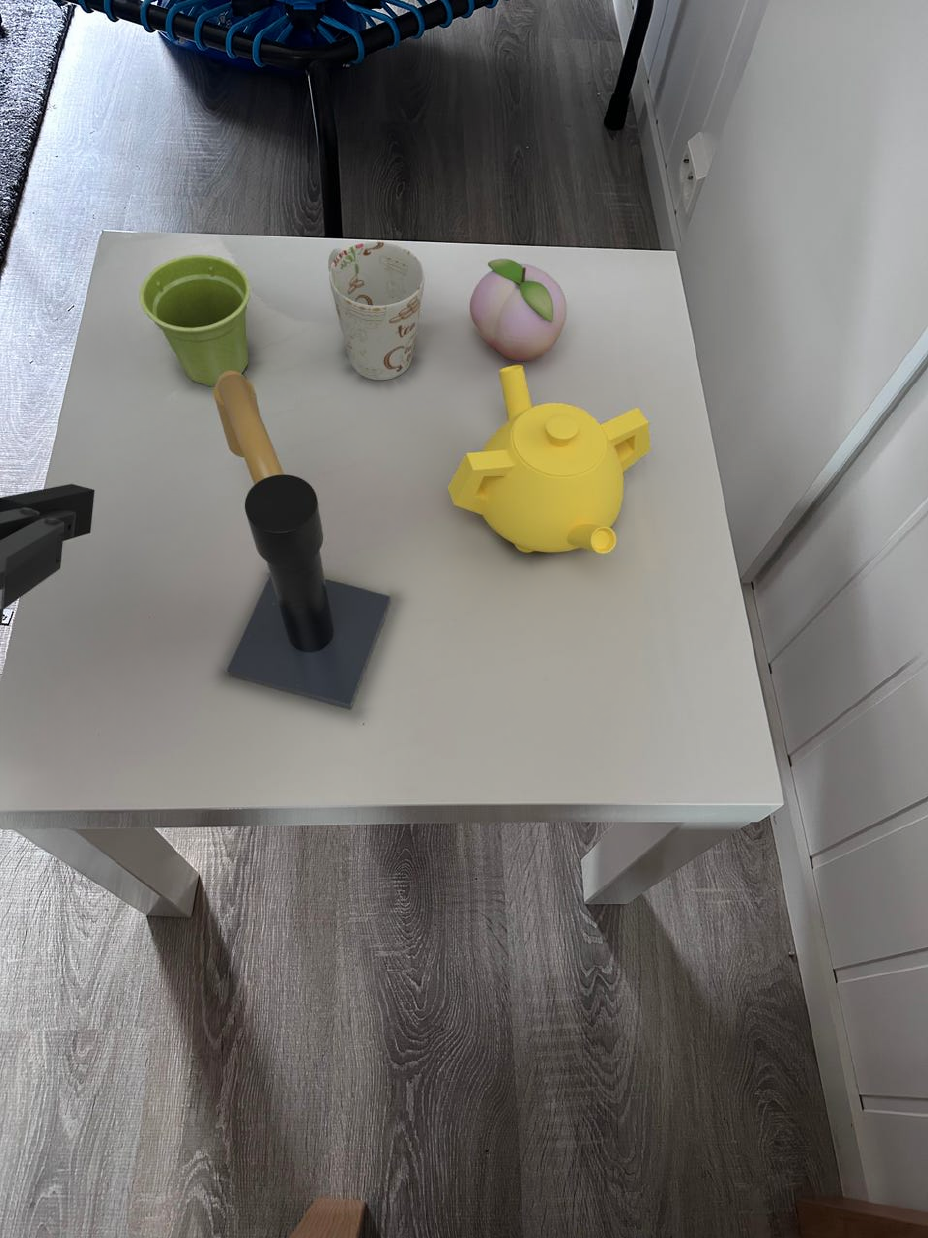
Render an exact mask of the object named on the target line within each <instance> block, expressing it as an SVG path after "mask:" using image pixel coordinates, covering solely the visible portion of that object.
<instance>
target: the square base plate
mask: <svg viewBox="0 0 928 1238" xmlns="http://www.w3.org/2000/svg"><path fill="white" fill-rule="evenodd" d="M266 563H267V567H268V571H269V576H268V579H267V580H266V583H265V585H264V588H263V590H262V592H261V594H260V596H259V598H258V601H257V603H256V605H255V607H254V609H253V611H252V614H251V616H250V618H249V621H248V623H247V625H246V627H245V629H244V631H243V634H242V636H241V638H240V640H239V642H238V645H237V647H236V649H235V652H234V654H233V656H232V658H231V660H230V662H229V665H228V666H227V669H226V672H227V675H228V676H229V677H232V678H235V679H239V680H243V681H247V682H250V683H252V684H253V683H254V684H257V685H260V686H263V687H267V688H271V689H275V690H278V691H282V692H286V693H289V694H293V695H296V696H299V697H303V698H306V699H309V700H313V701H316V702H317V701H318V702H322V703H325V704H329V705H332V706H335V707H340V708H342V709H346V710H349V711H350V710H352V708H353V705H354V702H355V700H356V697H357V694H358V692H359V688H360V686H361V683H362V681H363V678H364V675H365V672H366V670H367V667H368V665H369V662H370V659H371V656H372V654H373V650H374V648H375V645H376V643H377V640H378V637H379V635H380V633H381V629H382V627H383V623H384V621H385V618H386V615H387V613H388V610H389V607H390V605H391V596H390V595H387V594H383V593H379V592H376V591H372V590H369V589H365V588H361V587H357V586H353V585H349V584H346V583H342V582H338V581H334V580H330V579H327V578H326V577H325V572H324V568H323V561H322V555H321V549H320V550H319V552H318V553H317V554H316V556H315V557H314V558H312V559H311V560H310V561H308V562H306V563H304V564H302V565H299V566H295V567H279V566H276V565H273V564H271V563H269V562H267V561H266Z"/></svg>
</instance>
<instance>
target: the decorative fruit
mask: <svg viewBox="0 0 928 1238" xmlns="http://www.w3.org/2000/svg"><path fill="white" fill-rule="evenodd" d="M487 266H488V267H489V268H490V269H491V270H490V271H489V272H487V273H486V274H485V275H484V276H483V277H482V278H481V279H480V280H479V282H478V283H477V284H476V286H475V288H474V290H473V291H472V293H471V297H470V300H469V313H470V316H471V319H472V322H473V324H474V326H475V328H476V330H477V331H478V333H479V335H480V336H481V338H482V339H483V341H485V342H486V343H487V344H488V345H489V346H490V347H491V348H493V349H495V350H496V351H498V352H499V353H500V355H502V356H503V357H505V358H506V359H510V360H513V361H532V360H535V359H538V358H541V357H543V356H544V355H545V354H547V353H548V352H549V351H550V350H551V349H552V348H553V346H554V345H555V343H556V342H557V340H558V339H559V337H560V335H561V333H562V330H563V328H564V326H565V323H566V319H567V315H568V309H567V308H568V307H567V305H568V304H567V300H566V296H565V294H564V291H563V289H562V288H561V286H560V284H559V283H558V282H557V281H556V280H555V279H554V278H553V277H552V276H551V275H550V274H549V273H547V272H546V271H545V270H543V269H541V268H540V267H537V266H535V265H531V264H528V263H519V262H517V261H515V260H513V259H509V258H498V259H492V260H490V261H489V262H487Z"/></svg>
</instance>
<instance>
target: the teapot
mask: <svg viewBox="0 0 928 1238" xmlns="http://www.w3.org/2000/svg"><path fill="white" fill-rule="evenodd" d="M498 373H499V378H500V384H501V389H502V395H503V399H504V400H503V401H504V406H505V410H506V416H507V421H506V422H505V423H503V425H502V426H500V427H499V428H498V429H497V430H496V431H495V432H494V433H493V434H492V435H491V437H490V438H489V439H488V441H487V442H486V443H485V445H484V447H483V449H482V451H476V452H466V453H465V455H464V457H463V459H462V460H461V462H460V464H459V466H458V468H457V470H456V472H455V473H454V475H453V478H452V479H451V481H450V483H449V485H448V487H447V490H448V492H449V495H450V498H451V500H452V503H453V506H457V507H459V508H462V509H465V510H466V511H467V510H468V511H470V512H473V513H475V514H479V515H481V516H482V517H483V519H484V521H486V523H487V524H488V526H490V527H491V529H493V531H495V533H497V534H498V535H499V536H501V537H502V538H503V539H504V540H507V541H508V542H510V543H512V544H514V547H515V548H516V549H517V550H519V551H520V552H522V553H526V554H527V553H533V552H542V553H563V552H570V551H573V550H577V549H584V550H587V551H591V552H594V553H598V554H603V555H604V554H608V553H610V552H611V551H613V549H614V548H615V546H616V544H617V535H616V533H615V531H614V530H613V529H612V528H611V527H612V526H613V525H614V523H615V521H616V520H617V517H619V513H620V511H621V507H622V504H623V498H624V491H625V490H624V485H625V482H624V481H625V479H624V473H625V471H627V470H628V469H629V468H630V467H631V466H632V465H634V464H635V463H637V462H638V461H639V460H640V459H641V458H642V457H644V456H645V455H646V454H647V453H649V451H651V439H650V426H649V421H648V420H647V418H646V417H645V416H644V414H643V413H642V411H641V410H640V409H639V407H636V408H633V409H631V410H629V411H627V412H624V413H622V414H620V415H617V416H616V417H613V418H612V419H609V420H607V421H605V422H603V423H600V422H599V421H598V420H597V419H596V418H595V417H593V416H592V415H591V414H590V413H588V412H587V411H585V410H583V409H582V408H580V407H577V406H574V405H571V404H567V403H562V402H560V403H559V402H549V403H541V404H537V405H535V406H533V405H532V401H531V396H530V392H529V387H528V383H527V379H526V375H525V370H524V366H523V364H515V365H510V366H505V367H503V368H500V369H499V370H498Z"/></svg>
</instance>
